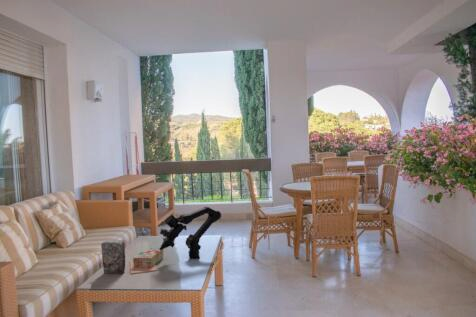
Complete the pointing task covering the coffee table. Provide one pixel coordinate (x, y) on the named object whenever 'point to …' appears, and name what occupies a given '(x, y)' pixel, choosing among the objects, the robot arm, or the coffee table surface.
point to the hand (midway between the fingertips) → (159, 249)
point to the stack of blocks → (148, 258)
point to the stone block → (113, 256)
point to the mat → (141, 268)
